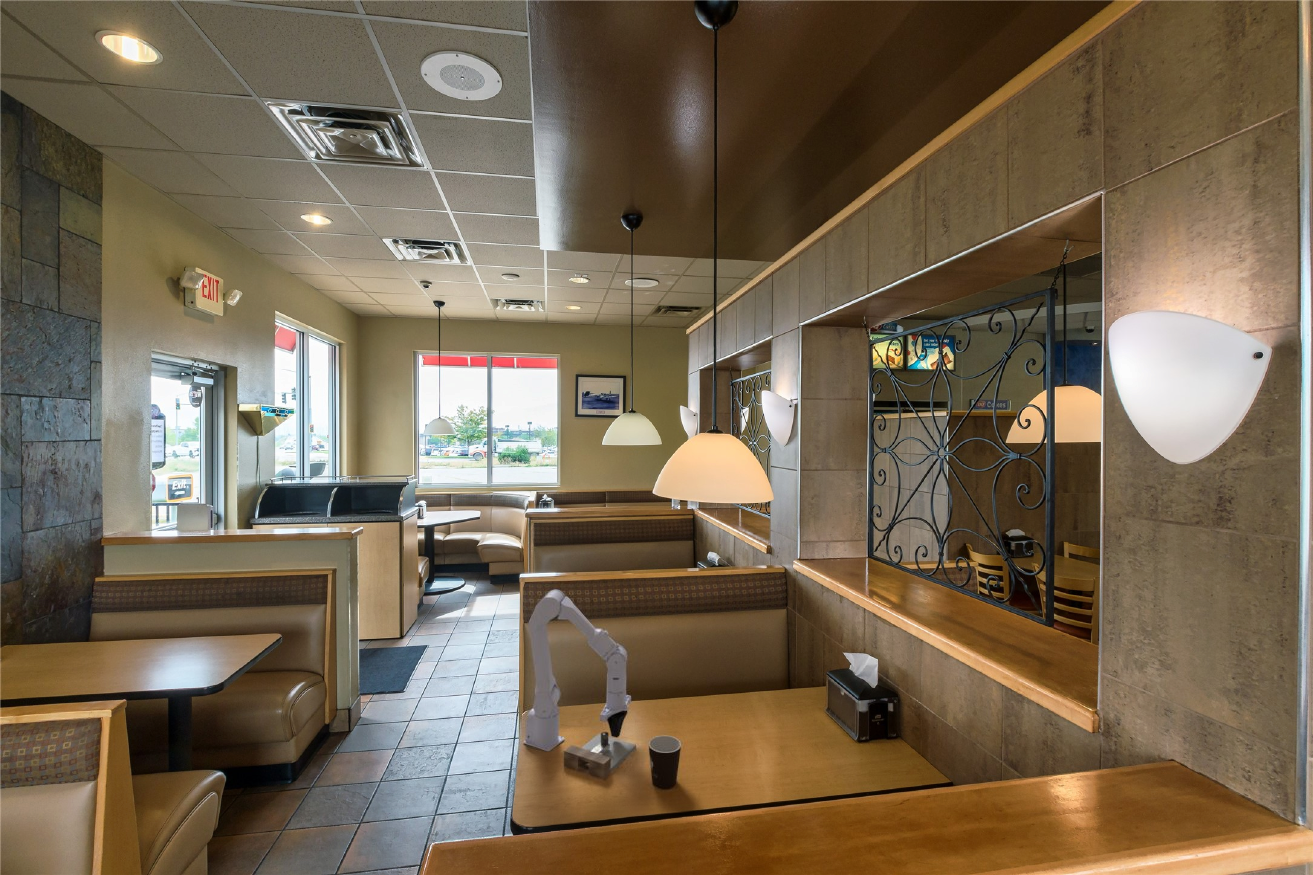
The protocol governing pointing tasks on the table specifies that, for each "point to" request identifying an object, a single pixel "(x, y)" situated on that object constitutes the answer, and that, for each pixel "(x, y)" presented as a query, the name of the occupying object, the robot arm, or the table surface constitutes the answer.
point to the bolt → (602, 744)
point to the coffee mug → (664, 761)
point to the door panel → (613, 749)
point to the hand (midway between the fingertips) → (615, 735)
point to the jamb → (587, 762)
